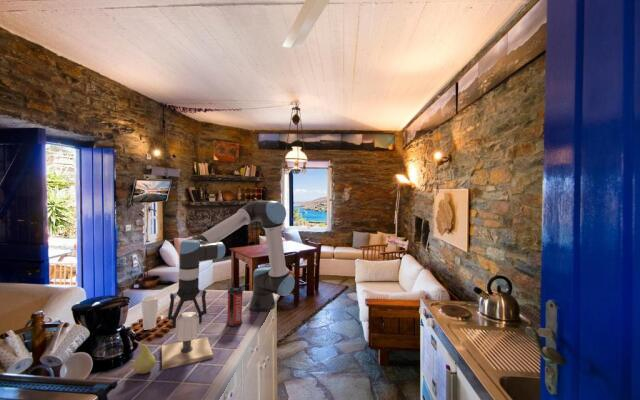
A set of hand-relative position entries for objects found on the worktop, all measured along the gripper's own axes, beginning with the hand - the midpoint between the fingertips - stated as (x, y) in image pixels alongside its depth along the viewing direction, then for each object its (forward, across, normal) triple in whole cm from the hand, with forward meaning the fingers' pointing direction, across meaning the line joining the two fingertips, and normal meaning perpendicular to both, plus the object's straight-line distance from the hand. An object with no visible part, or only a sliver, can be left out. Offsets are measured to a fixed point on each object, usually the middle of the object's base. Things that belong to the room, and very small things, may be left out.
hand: (187, 333), depth 120 cm
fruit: (+9, +15, +7) cm, 19 cm away
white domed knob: (+2, 0, 0) cm, 2 cm away
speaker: (+9, -24, -20) cm, 33 cm away
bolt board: (+9, 0, 0) cm, 9 cm away
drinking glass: (+9, +14, -31) cm, 35 cm away
